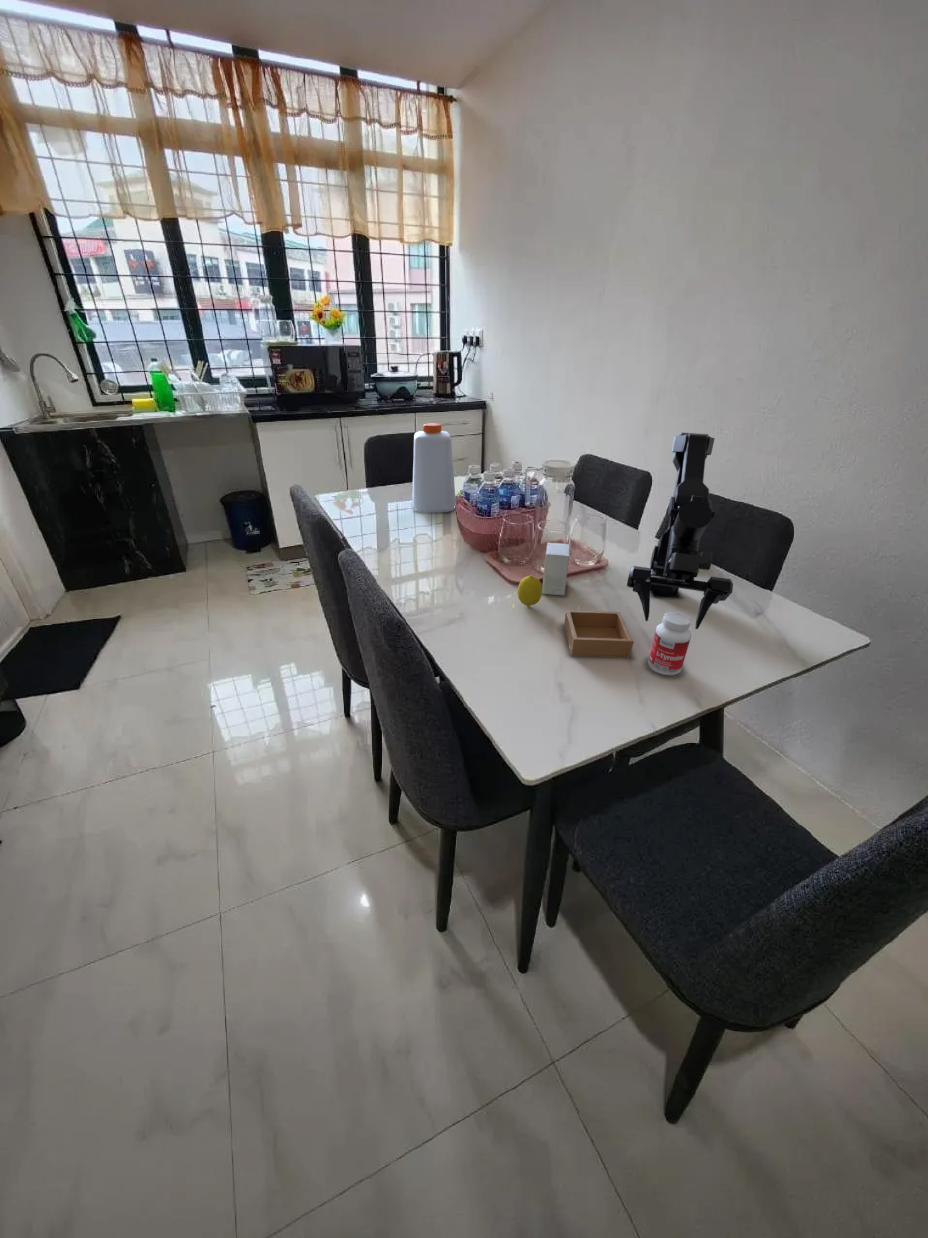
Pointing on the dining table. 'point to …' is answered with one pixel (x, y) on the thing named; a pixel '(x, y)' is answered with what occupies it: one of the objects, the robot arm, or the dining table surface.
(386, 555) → the dining table surface
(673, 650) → the pill bottle
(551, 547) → the small box
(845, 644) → the dining table surface
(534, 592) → the lemon
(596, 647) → the open box
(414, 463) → the plastic bottle
